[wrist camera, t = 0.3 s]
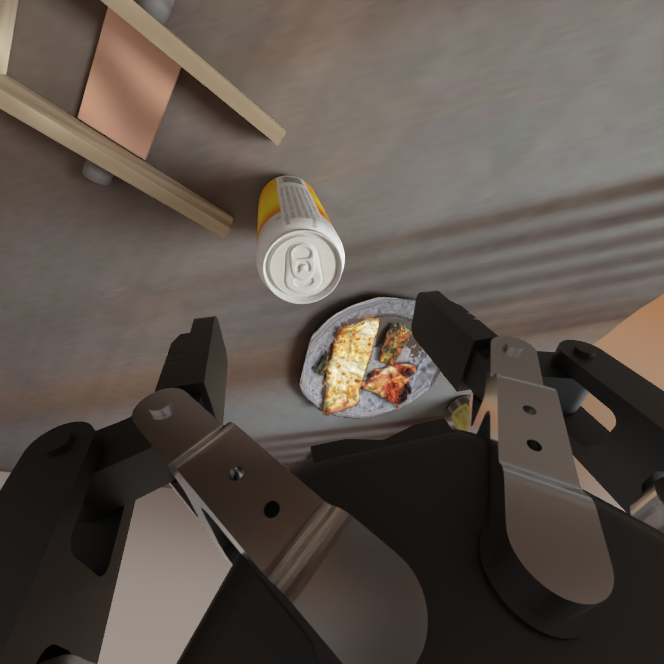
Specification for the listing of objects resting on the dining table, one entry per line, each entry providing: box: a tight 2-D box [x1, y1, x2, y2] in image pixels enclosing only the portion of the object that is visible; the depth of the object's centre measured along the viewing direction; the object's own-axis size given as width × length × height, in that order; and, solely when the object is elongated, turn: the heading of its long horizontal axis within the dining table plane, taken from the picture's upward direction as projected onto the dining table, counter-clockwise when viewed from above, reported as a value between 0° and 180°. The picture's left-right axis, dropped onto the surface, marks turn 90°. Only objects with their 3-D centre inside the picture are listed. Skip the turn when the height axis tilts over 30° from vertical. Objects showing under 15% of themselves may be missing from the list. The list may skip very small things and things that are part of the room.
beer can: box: [256, 175, 345, 304], centre depth 25 cm, size 6×6×15 cm
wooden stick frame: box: [0, 0, 286, 239], centre depth 23 cm, size 15×19×4 cm
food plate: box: [299, 297, 440, 419], centre depth 47 cm, size 25×23×4 cm
